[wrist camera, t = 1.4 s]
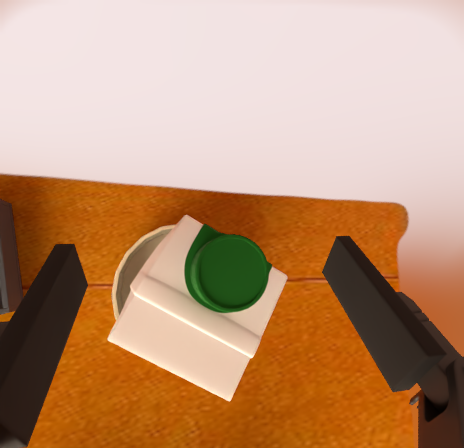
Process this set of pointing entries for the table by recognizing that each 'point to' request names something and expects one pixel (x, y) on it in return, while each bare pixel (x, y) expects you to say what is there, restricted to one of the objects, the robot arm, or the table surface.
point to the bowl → (134, 265)
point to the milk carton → (200, 306)
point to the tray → (9, 262)
